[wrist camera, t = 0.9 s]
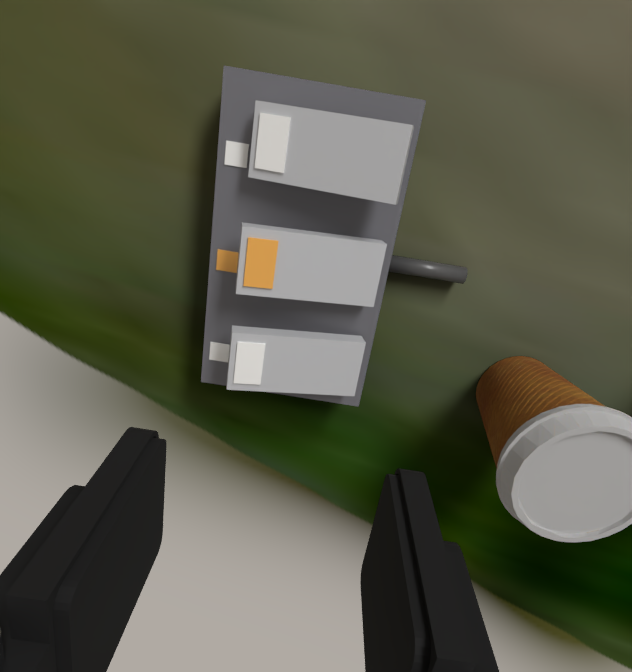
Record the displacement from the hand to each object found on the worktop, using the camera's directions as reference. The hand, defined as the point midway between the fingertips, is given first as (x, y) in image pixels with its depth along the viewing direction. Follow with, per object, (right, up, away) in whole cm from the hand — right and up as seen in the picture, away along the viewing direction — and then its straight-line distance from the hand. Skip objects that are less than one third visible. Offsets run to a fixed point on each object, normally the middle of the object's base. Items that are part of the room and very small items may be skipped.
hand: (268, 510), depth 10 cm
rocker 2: (+1, +8, +20) cm, 22 cm away
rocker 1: (+2, +14, +17) cm, 23 cm away
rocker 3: (0, +2, +23) cm, 23 cm away
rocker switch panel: (+3, +10, +25) cm, 27 cm away
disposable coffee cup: (+17, -1, +29) cm, 34 cm away
